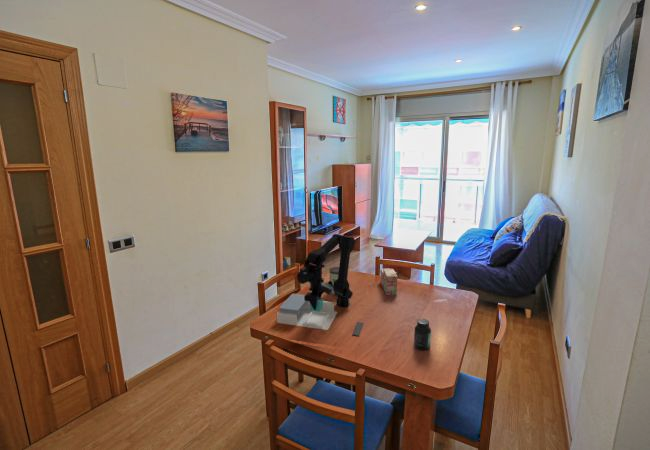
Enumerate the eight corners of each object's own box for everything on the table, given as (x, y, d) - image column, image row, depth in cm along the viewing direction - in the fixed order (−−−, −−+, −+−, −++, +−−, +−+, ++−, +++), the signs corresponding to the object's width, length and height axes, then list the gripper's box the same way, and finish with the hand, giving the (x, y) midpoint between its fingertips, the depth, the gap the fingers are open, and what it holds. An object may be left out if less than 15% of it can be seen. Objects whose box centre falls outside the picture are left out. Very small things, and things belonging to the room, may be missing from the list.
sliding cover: (309, 298, 180) (309, 295, 179) (298, 314, 163) (298, 310, 163) (292, 296, 182) (292, 293, 182) (279, 311, 166) (279, 307, 165)
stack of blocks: (380, 281, 220) (380, 264, 217) (389, 281, 220) (390, 263, 217) (386, 295, 199) (386, 275, 196) (396, 295, 199) (397, 275, 196)
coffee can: (345, 288, 210) (345, 266, 207) (346, 294, 200) (346, 272, 197) (329, 288, 210) (329, 266, 207) (329, 294, 200) (329, 272, 197)
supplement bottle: (433, 349, 144) (434, 324, 141) (418, 351, 142) (419, 326, 140) (425, 341, 150) (426, 316, 148) (411, 343, 149) (412, 318, 146)
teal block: (322, 307, 169) (322, 298, 168) (319, 311, 164) (319, 302, 163) (313, 306, 170) (313, 297, 169) (310, 310, 166) (309, 301, 165)
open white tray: (337, 313, 177) (337, 302, 176) (327, 331, 159) (327, 319, 158) (291, 307, 184) (291, 297, 183) (277, 324, 166) (277, 312, 165)
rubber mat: (363, 323, 166) (363, 322, 166) (359, 336, 155) (359, 335, 155) (340, 320, 170) (340, 319, 170) (333, 332, 158) (333, 331, 158)
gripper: (326, 286, 153) (326, 317, 156) (336, 272, 170) (336, 301, 174) (303, 284, 156) (304, 314, 159) (315, 270, 173) (316, 298, 177)
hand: (316, 307), depth 167 cm, fingers closed on teal block, 5 cm apart
